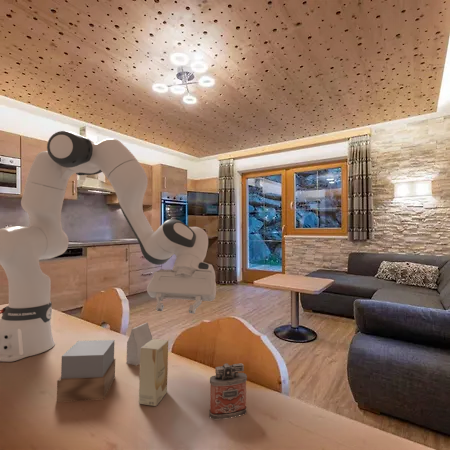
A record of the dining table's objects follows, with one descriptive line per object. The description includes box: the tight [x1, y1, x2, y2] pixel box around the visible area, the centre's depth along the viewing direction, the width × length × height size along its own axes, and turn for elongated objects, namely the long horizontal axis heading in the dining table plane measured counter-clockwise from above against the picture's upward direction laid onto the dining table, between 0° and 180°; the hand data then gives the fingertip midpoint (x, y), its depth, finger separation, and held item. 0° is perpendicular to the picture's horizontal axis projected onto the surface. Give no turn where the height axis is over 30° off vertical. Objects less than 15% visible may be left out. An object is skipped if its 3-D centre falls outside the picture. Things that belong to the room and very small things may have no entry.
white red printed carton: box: [126, 322, 153, 366], centre depth 84 cm, size 4×7×10 cm, turn 157°
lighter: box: [208, 362, 248, 420], centre depth 60 cm, size 8×3×10 cm, turn 105°
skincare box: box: [138, 338, 169, 407], centre depth 65 cm, size 6×4×12 cm
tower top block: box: [60, 339, 115, 379], centre depth 68 cm, size 9×9×5 cm
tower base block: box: [56, 358, 116, 403], centre depth 68 cm, size 10×10×5 cm
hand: (175, 311), depth 77 cm, fingers open, 8 cm apart
